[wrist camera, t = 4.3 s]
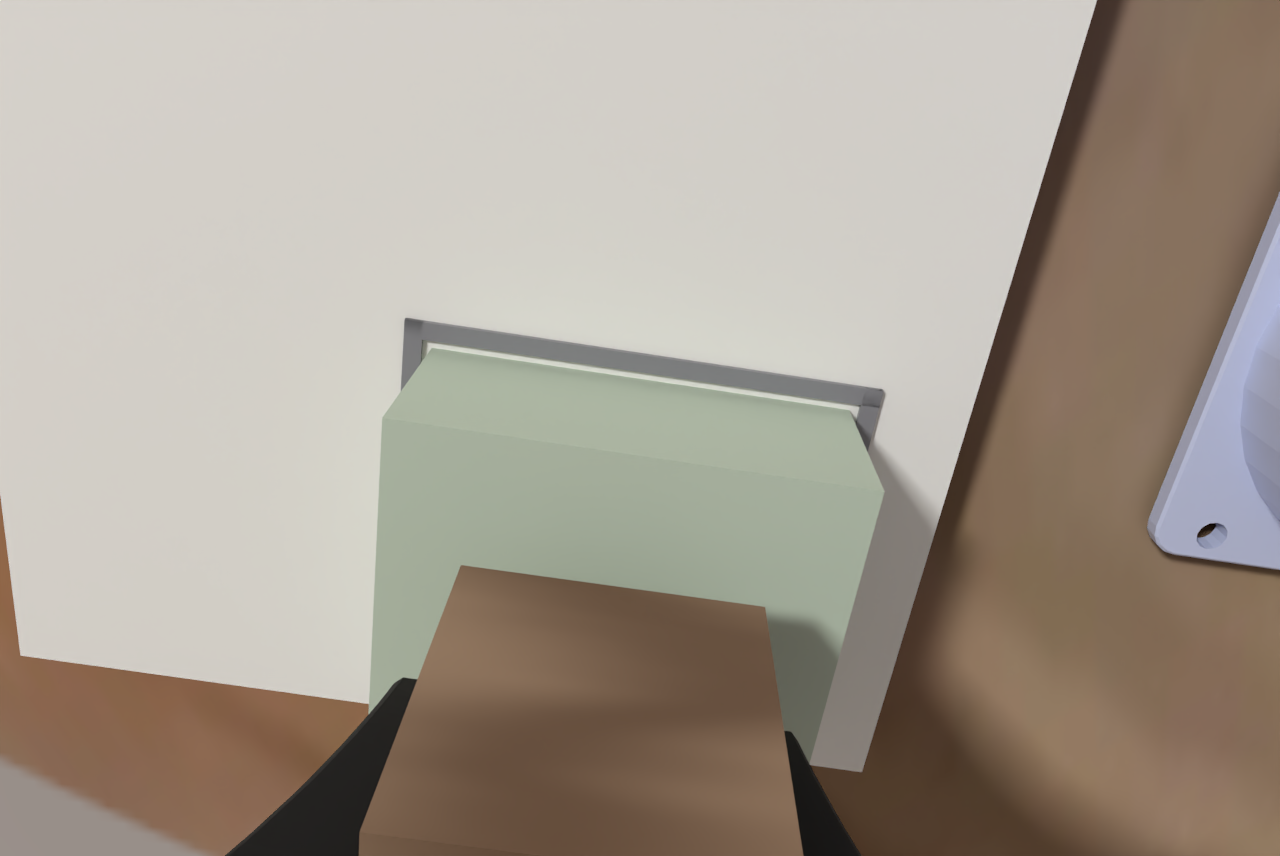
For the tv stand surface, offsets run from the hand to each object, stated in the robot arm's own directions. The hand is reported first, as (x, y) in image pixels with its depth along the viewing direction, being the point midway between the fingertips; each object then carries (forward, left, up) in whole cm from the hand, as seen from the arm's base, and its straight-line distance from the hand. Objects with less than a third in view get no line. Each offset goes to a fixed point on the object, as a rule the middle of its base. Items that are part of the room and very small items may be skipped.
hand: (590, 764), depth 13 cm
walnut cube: (0, 0, -1) cm, 1 cm away
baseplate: (+3, -4, -6) cm, 8 cm away
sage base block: (0, 0, -5) cm, 5 cm away
